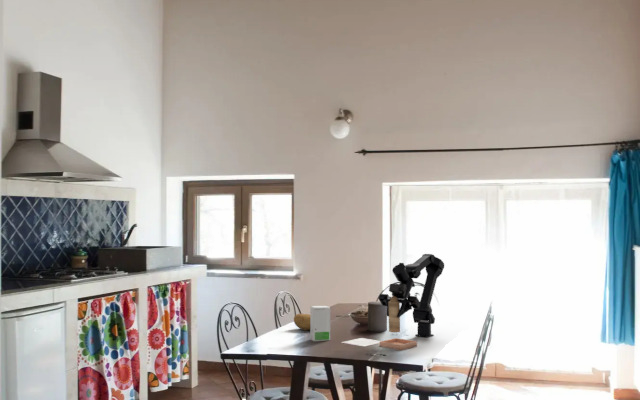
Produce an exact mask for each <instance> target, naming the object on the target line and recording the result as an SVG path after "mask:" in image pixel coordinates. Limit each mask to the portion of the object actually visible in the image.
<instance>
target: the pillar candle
mask: <svg viewBox="0 0 640 400" xmlns="http://www.w3.org/2000/svg"><path fill="white" fill-rule="evenodd" d="M367 330H368V331H370V332H378V333H379V332H386V331H387V330H388V316H387V306H383V305H382V304H381V302H380V301H368V302H367Z"/></svg>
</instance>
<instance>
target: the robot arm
mask: <svg viewBox="0 0 640 400" xmlns="http://www.w3.org/2000/svg"><path fill="white" fill-rule="evenodd" d="M444 268H445V262H444V261H443V260H442V259H441V258H439V257H438V256H435V255H434V254H432V253H424V254H422V255H421V257H419V258H418V259H417V260H416V261H415V262H413V263H409V264H406V265H405V263H404V262H399V263H398V264H396V265H395V266H394V267H392V274H393V275H394V277H395V278H396V280H397V281H398V282H399V283H390V284H389V289H388V291H389V292H390V293H391V295H392V296H395V297H397V299H398V301H399V304H400V310H399V312H398V315H397V317H398V318H399V317H400V318H401V317H402V316H403V315H404V314H405V313H407V312H408V311H411V310H412V309H413V311H412V317H413V323H415V324H416V323H417V333H416V334H415V335H414V336H416V337H421V338H429V337H433V336H434V335H435V334H432V325H434V324H435V321H436V318H435V316H434V314H433V308H432V307H431V302H432V300H433V295H434V291H435V288H436V283H437V280H438V278H439V277H440V276H441V275H443V270H444ZM424 269H425V271H426V272H425V273H426V279H425V281H424V286H423V289H422V293H421V298H420V299H419V298H418V297H417V296H416V295H411V293H410V292H411V290H412V287H413V288H415V285H416V284H415V283H414V282H415V281H414V280H413V279H418V278H419V277H420V276H421V275H422V272H421V271H422V270H424ZM392 296H390V295H389V294H387V293H386V294H385V293H379V295H378V297H377V300H378V302H381V304H382V305H383V306H387V318H389V303H388V302H389V301H390V298H391V297H392Z"/></svg>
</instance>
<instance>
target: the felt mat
mask: <svg viewBox="0 0 640 400" xmlns="http://www.w3.org/2000/svg"><path fill="white" fill-rule="evenodd" d="M381 341H382V340H375V339H370V338H365V337H359V338H354V339H351V340H345V341H341V344H343V343H344V344H348V345H352V346H353V345H354V346H357V347H358V346H359V347H364V348H365V347H368V346H373V345H377V344H380V342H381Z"/></svg>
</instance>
